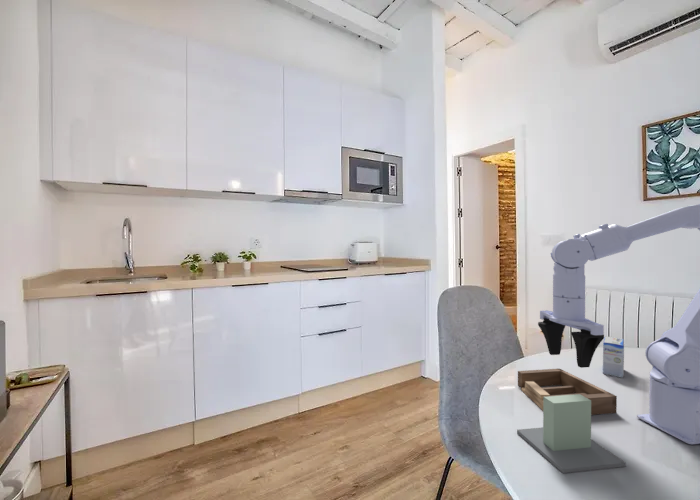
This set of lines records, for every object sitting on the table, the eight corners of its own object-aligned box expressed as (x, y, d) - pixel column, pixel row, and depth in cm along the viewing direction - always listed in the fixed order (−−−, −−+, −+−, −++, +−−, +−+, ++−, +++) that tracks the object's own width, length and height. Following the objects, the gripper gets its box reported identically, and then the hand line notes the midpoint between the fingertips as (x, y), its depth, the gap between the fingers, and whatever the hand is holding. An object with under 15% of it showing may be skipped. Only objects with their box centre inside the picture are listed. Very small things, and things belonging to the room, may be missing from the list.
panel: (590, 447, 56) (591, 400, 56) (553, 450, 55) (553, 403, 55) (579, 439, 59) (579, 394, 59) (543, 442, 58) (543, 396, 58)
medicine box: (603, 365, 96) (604, 335, 96) (623, 369, 93) (624, 338, 93) (602, 374, 90) (602, 342, 89) (623, 378, 87) (624, 345, 87)
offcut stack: (558, 415, 69) (558, 401, 69) (546, 415, 69) (546, 400, 69) (531, 391, 80) (531, 379, 80) (521, 391, 80) (521, 379, 80)
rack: (616, 412, 69) (616, 396, 69) (566, 417, 67) (566, 399, 67) (559, 382, 84) (559, 368, 84) (517, 385, 83) (517, 371, 83)
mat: (625, 466, 52) (625, 462, 52) (562, 473, 51) (562, 469, 51) (570, 428, 63) (570, 425, 63) (517, 432, 62) (517, 429, 62)
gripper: (528, 292, 77) (527, 350, 77) (581, 302, 63) (580, 374, 63) (555, 291, 78) (555, 348, 78) (613, 301, 64) (612, 372, 64)
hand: (568, 360), depth 71 cm, fingers open, 7 cm apart
